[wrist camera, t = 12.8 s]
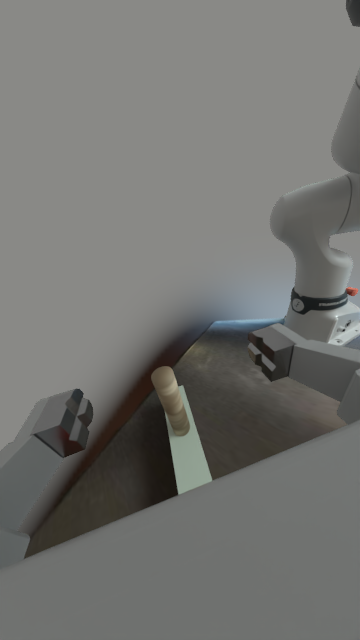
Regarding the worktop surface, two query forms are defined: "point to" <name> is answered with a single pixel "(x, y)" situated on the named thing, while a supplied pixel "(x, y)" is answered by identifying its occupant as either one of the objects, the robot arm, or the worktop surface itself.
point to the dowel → (171, 399)
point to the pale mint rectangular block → (188, 454)
